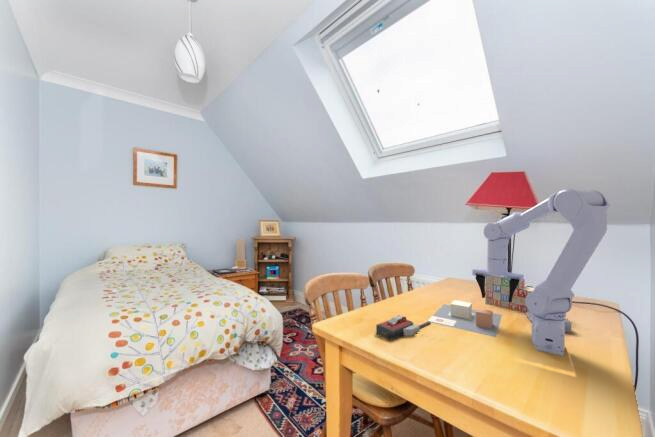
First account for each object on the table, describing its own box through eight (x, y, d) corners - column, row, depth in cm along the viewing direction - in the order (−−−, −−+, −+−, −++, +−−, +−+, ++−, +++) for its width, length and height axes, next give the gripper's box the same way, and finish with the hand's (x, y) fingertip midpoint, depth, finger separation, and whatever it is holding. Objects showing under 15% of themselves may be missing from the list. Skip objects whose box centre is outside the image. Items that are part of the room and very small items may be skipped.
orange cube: (491, 328, 88) (491, 314, 88) (475, 325, 91) (476, 311, 91) (492, 324, 92) (492, 310, 92) (477, 321, 94) (477, 308, 94)
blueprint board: (496, 339, 82) (496, 336, 82) (426, 324, 93) (426, 321, 93) (501, 317, 101) (501, 314, 101) (443, 306, 113) (443, 304, 113)
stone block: (541, 336, 89) (576, 333, 87) (537, 321, 89) (572, 318, 88) (522, 324, 101) (553, 321, 99) (519, 311, 101) (550, 307, 99)
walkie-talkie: (395, 345, 78) (432, 327, 91) (396, 329, 78) (433, 314, 91) (371, 334, 85) (409, 320, 98) (372, 320, 85) (409, 307, 98)
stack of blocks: (552, 316, 103) (553, 283, 103) (546, 319, 100) (547, 285, 100) (491, 301, 121) (492, 273, 121) (484, 304, 117) (485, 275, 117)
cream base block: (468, 318, 97) (469, 307, 97) (450, 314, 100) (450, 303, 100) (471, 313, 102) (471, 303, 102) (453, 310, 105) (454, 300, 105)
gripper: (524, 259, 92) (523, 300, 92) (475, 255, 101) (474, 293, 101) (523, 262, 86) (522, 305, 86) (471, 257, 95) (470, 297, 95)
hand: (496, 299), depth 93 cm, fingers open, 7 cm apart
